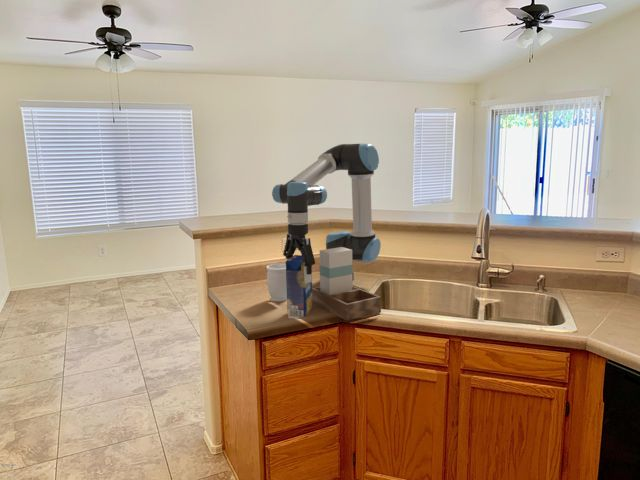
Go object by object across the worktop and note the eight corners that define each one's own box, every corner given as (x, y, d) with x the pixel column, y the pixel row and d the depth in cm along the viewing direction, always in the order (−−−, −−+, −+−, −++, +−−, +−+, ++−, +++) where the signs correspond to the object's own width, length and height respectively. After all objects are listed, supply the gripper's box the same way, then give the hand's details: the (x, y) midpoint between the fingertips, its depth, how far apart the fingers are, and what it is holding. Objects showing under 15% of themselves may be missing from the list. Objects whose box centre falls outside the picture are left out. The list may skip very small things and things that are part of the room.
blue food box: (312, 309, 185) (311, 255, 180) (304, 319, 174) (303, 262, 170) (296, 308, 186) (294, 254, 182) (287, 317, 176) (285, 261, 172)
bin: (343, 297, 199) (343, 281, 197) (380, 314, 178) (381, 296, 176) (311, 304, 190) (311, 288, 189) (346, 323, 169) (346, 304, 168)
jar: (288, 305, 190) (287, 269, 188) (264, 303, 192) (262, 268, 190) (294, 297, 201) (294, 263, 198) (272, 296, 203) (270, 262, 200)
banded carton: (342, 298, 195) (342, 246, 190) (352, 302, 189) (352, 249, 185) (320, 303, 189) (319, 250, 185) (329, 307, 183) (329, 253, 179)
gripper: (273, 220, 182) (275, 273, 186) (306, 228, 161) (307, 287, 165) (290, 218, 186) (291, 270, 190) (324, 226, 165) (324, 284, 169)
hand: (298, 278), depth 177 cm, fingers open, 13 cm apart
